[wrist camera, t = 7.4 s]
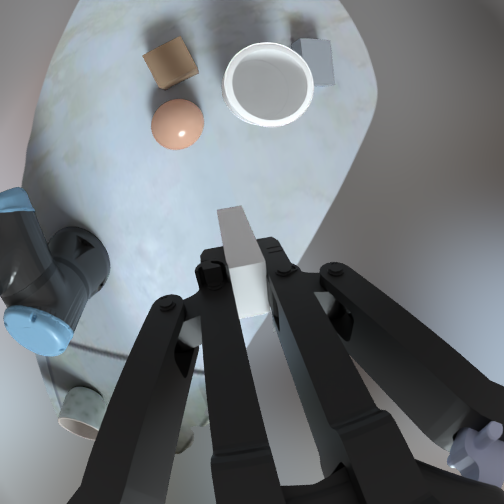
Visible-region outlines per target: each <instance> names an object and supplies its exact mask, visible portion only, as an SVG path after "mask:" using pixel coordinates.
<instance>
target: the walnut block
mask: <svg viewBox="0 0 504 504" xmlns="http://www.w3.org/2000/svg"><path fill="white" fill-rule="evenodd" d="M143 58H144V60H145V62H146V64H147V65H148V67H149V69H150V71H151V73H152V75H153V77H154V79H155V81H156V83H157V85H158V86H159V88H162V89H164V90H167V89H168V88H170V87H172V86H174V85H176V84H178V83H180V82H182V81H184V80H186V79H188V78H190V77H192V76H194V75H196V74H198V73H199V72H198V68H197V66H196V64H195V62H194V61H193V59H192V57H191V55H190V53H189V51H188V49H187V47H186V45H185V44H184V42H183V40H182V38H181V36H179V37H177V38H175V39H173V40H171V41H169V42H167V43H165V44H163V45H161V46H159V47H157V48H155V49H153V50H152V51H150V52H148V53H146V54H144V55H143Z"/></svg>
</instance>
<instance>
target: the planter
mask: <svg viewBox="0 0 504 504" xmlns="http://www.w3.org/2000/svg"><path fill="white" fill-rule="evenodd" d="M106 410H107V406H106V403H105V401H104V399H103V398H102V397H101V396H100V395H99V394H98V393H97V392H95V391H93V390H91V389H89V388H86V387H75V388H72V389H71V390H70V391H69V392H68V393H67V395H66V397H65V400H64V402H63V405H62V408H61V411H60V414H59V417H58V422H59V424H60V425H61V426H62V427H63V428H65V429H66V430H68V431H70V432H71V433H73V434H75V435H77V436H80V437H83V438H86V439H90V440H95V439H96V437H97V434H98V431H99V428H100V426H101V423H102V420H103V417H104V415H105V412H106Z"/></svg>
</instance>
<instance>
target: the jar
mask: <svg viewBox="0 0 504 504" xmlns="http://www.w3.org/2000/svg"><path fill="white" fill-rule="evenodd" d="M313 92H314V82H313V77H312V73H311V71H310V69H309V67H308V65H307V63H306V62H305V61H304V59H303V58H302V57H301V56H300V55H299V54H297V53H296V52H295V51H293V50H292V49H290V48H288V47H286V46H284V45H281V44H277V43H268V42H265V43H257V44H253V45H250V46H248V47H246V48H244V49H242V50H241V51H240V52H238V53H237V54H236V55H235V56H234V57H233V59H232V60H231V61H230V63H229V65H228V67H227V69H226V71H225V73H224V76H223V79H222V96H223V99H224V102H225V104H226V106H227V107H228V109H229V110H230V111H231V112H232V113H233V114H234V115H235V116H236V117H238V118H239V119H241V120H243V121H245V122H247V123H250V124H254V125H258V126H262V127H280V126H284V125H287V124H289V123H292V122H294V121H295V120H297V119H298V118H299V117H301V116H302V115H303V114H304V112H305V111H306V110H307V108H308V107H309V105H310V103H311V101H312V97H313Z"/></svg>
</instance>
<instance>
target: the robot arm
mask: <svg viewBox="0 0 504 504" xmlns="http://www.w3.org/2000/svg"><path fill="white" fill-rule="evenodd" d="M217 214H218V220H219V226H220V231H221V237H222V242H223V246H222V247H216V248H211V249H206V250H204V251H203V252H202V254H201V255H200V258H201V263H200V264H199V265H198V266H197V267H196V269H195V274H196V278H197V282H198V285H199V291H198V292H197V293H196V294H194V295H193V296H191V297H189V298H186V299H184V300H183V299H182V298H181V297H180V296H178V295H173V294H171V295H165V296H163V297H160V298H159V299H157V300H156V301H155V302H154V304H153V305H152V307H151V309H150V311H149V313H148V315H147V317H146V319H145V321H144V323H143V326H142V328H141V330H140V332H139V334H138V336H137V339H136V341H135V343H134V345H133V347H132V350H131V352H130V354H129V356H128V359H127V361H126V363H125V366H124V368H123V370H122V373H121V375H120V377H119V380H118V382H117V385H116V387H115V389H114V392H113V394H112V397H111V399H110V402H109V404H108V407H107V410H106V412H105V415H104V417H103V420H102V423H101V426H100V428H99V431H98V434H97V437H96V439H95V442H94V445H93V448H92V451H91V454H90V457H89V460H88V463H87V466H86V470H85V473H84V476H83V479H82V483H81V486H80V487H79V488H78V490H77V491H76V492H75V494H74V495H73V496H72V497H71V499H70V500H69V501H68V503H67V504H165V500H166V495H167V490H168V485H169V479H170V474H171V469H172V465H173V460H174V455H175V451H176V446H177V441H178V437H179V432H180V428H181V423H182V419H183V414H184V410H185V406H186V401H187V397H188V393H189V388H190V384H191V380H192V376H193V372H194V368H195V363H196V359H197V355H198V351H199V345H201V344H202V347H203V360H204V372H205V383H206V394H207V403H208V413H209V421H210V430H211V438H212V445H213V455H212V457H211V472H212V479H213V485H214V492H215V498H216V504H504V491H503V490H502V489H501V487H502V485H503V482H504V386H502V385H499V384H497V383H495V382H492V381H490V380H489V379H488V378H487V377H486V376H485V375H483V374H482V373H481V372H480V371H479V370H478V369H477V368H476V367H474V366H473V365H472V364H471V363H470V362H469V361H467V360H466V359H465V358H464V357H463V356H462V355H461V354H459V353H458V352H457V351H456V350H455V349H454V348H452V347H451V346H450V345H449V344H447V343H446V342H445V341H444V340H443V339H442V338H440V337H439V336H438V335H437V334H435V333H434V332H433V331H432V330H431V329H429V328H428V327H427V326H426V325H424V324H423V323H422V322H420V321H419V320H418V319H417V318H416V317H414V316H413V315H412V314H411V313H409V312H408V311H407V310H405V309H404V308H403V307H402V306H400V305H399V304H398V303H396V302H395V301H394V300H393V299H391V298H390V297H389V296H387V295H386V294H385V293H383V292H382V291H381V290H379V289H378V288H377V287H375V286H374V285H373V284H371V283H370V282H369V281H367V280H366V279H365V278H363V277H362V276H361V275H359V274H358V273H357V272H355V271H354V270H353V269H351V268H350V267H348V266H347V265H345V264H343V263H338V262H330V263H326V264H325V265H323V266H322V267H321V268H320V273H306V272H302V271H301V270H300V268H299V267H298V266H297V265H295V264H292V263H291V262H290V260H289V259H288V257H287V255H286V253H285V252H284V251H283V248H282V247H281V245H280V243H279V241H278V240H276V239H275V238H273V237H267V238H261V239H256V238H255V236H254V234H253V231H252V229H251V227H250V224H249V222H248V220H247V217H246V215H245V213H244V210H243V208H242V206H236V207H230V208H225V209H219V210H217ZM109 273H110V260H109V257H108V254H107V251H106V250H105V248H104V246H103V245H102V243H101V242H100V241H99V240H98V239H97V238H96V237H95V236H94V235H93V234H91V233H90V232H88V231H86V230H84V229H81V228H77V227H67V228H63V229H61V230H60V231H58V232H57V233H56V234H55V235H54V236H53V237H52V238H51V239H50V241H49V243H48V244H47V242H46V240H45V237H44V235H43V232H42V230H41V228H40V225H39V223H38V220H37V218H36V215H35V209H34V208H32V205H31V203H30V200H29V198H28V195H27V193H26V191H25V190H24V189H23V188H20V187H16V188H12V189H9V190H6V191H4V192H1V193H0V296H1V298H2V300H3V301H4V303H5V305H6V306H7V309H6V310H5V312H4V318H3V319H4V324H5V327H6V329H7V331H8V332H9V334H10V335H11V336H12V337H13V338H14V339H15V340H16V341H17V342H18V343H19V344H21V345H22V346H23V347H25V348H26V349H28V350H30V351H33V352H34V353H37V354H40V355H43V356H57V355H60V354H61V353H63V352H64V351H65V349H66V348H67V346H68V344H69V341H70V340H71V339H72V338H73V334H74V331H75V329H76V326H77V324H78V321H79V319H80V317H81V314H82V312H83V310H84V307H85V305H86V303H87V301H88V299H90V298H91V297H92V296H93V295H95V294H96V293H97V292H98V291H100V290H101V289H102V287H103V286H104V285H105V283H106V281H107V278H108V276H109ZM270 307H271V310H272V315H273V316H272V317H273V328H274V332H276V331H277V334H278V337H279V340H280V343H281V346H282V348H283V351H284V354H285V357H286V360H287V363H288V366H289V369H290V372H291V374H292V377H293V380H294V383H295V386H296V389H297V392H298V395H299V397H300V400H301V403H302V406H303V409H304V412H305V415H306V418H307V420H308V423H309V426H310V429H311V432H312V435H313V438H314V440H315V443H316V446H317V449H318V452H319V456H320V463H321V468H322V471H323V475H324V477H325V479H323V480H322V481H320V482H318V483H316V484H313V485H299V486H298V485H296V486H280V482H279V479H278V475H277V471H276V467H275V464H274V460H273V456H272V453H271V449H270V446H269V443H268V438H267V434H266V431H265V427H264V423H263V419H262V415H261V411H260V407H259V403H258V399H257V394H256V390H255V386H254V382H253V377H252V374H251V369H250V365H249V360H248V356H247V352H246V347H245V343H244V338H243V334H242V329H241V325H240V320H239V319H243V318H248V317H253V316H258V315H262V314H267V313H270ZM349 355H350V356H351V357H352V358H353V359H354V360H355V361H356V362H357V363H358V364H359V365H360V366H361V367H362V368H363V369H364V370H365V372H366V373H367V374H368V375H369V376H370V377H371V378H372V379H373V380H374V381H375V382H376V383H377V384H378V385H379V386H380V387H381V388H382V390H384V392H385V393H386V394H387V395H388V396H389V397H390V398H391V399H392V400H393V401H394V402H395V403H396V404H397V405H398V406H399V407H400V408H401V410H402V411H403V412H404V413H405V414H406V415H407V416H408V417H409V418H410V419H411V420H412V421H413V422H414V423H415V424H416V425H417V426H418V428H419V429H420V430H421V431H422V432H423V433H424V434H425V435H426V436H427V437H428V438H430V440H432V441H433V442H434V443H435V444H437V445H438V446H440V447H441V448H443V449H444V450H446V451H448V452H450V455H449V456H448V459H447V464H448V465H449V467H451V468H456V469H457V470H458V471H460V473H461V475H462V476H459V475H456V474H454V473H450V472H448V471H445V470H442V469H439V468H437V467H434V466H431V465H429V464H426V463H424V462H421V461H419V460H416V459H414V457H413V455H412V453H411V451H410V449H409V447H408V445H407V443H406V441H405V439H404V437H403V435H402V433H401V431H400V429H399V428H398V426H397V424H396V422H395V420H394V419H393V417H392V416H391V414H390V413H389V412H387V411H386V410H380V409H379V408H378V407H377V406H376V404H375V403H374V401H373V399H372V397H371V395H370V393H369V391H368V389H367V387H366V385H365V384H364V382H363V380H362V378H361V376H360V374H359V372H358V370H357V369H356V367H355V365H354V363H353V361H352V359H351V358H350V356H349Z"/></svg>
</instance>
